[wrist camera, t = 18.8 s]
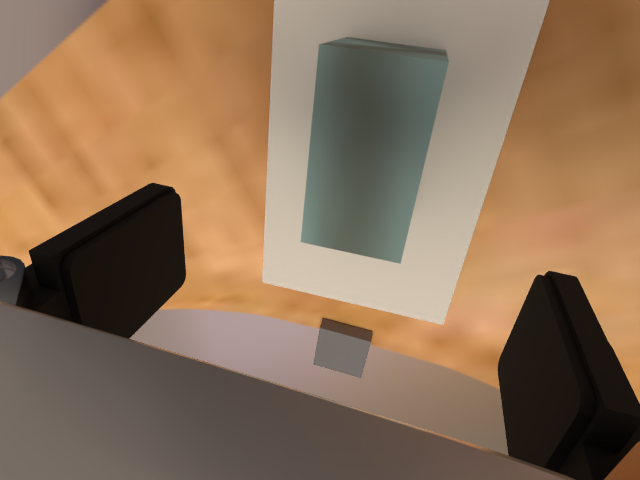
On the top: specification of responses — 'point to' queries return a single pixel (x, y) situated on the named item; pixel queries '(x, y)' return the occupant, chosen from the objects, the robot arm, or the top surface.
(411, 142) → the block
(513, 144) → the top surface
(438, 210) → the board
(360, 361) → the chip
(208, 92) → the top surface
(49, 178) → the top surface
